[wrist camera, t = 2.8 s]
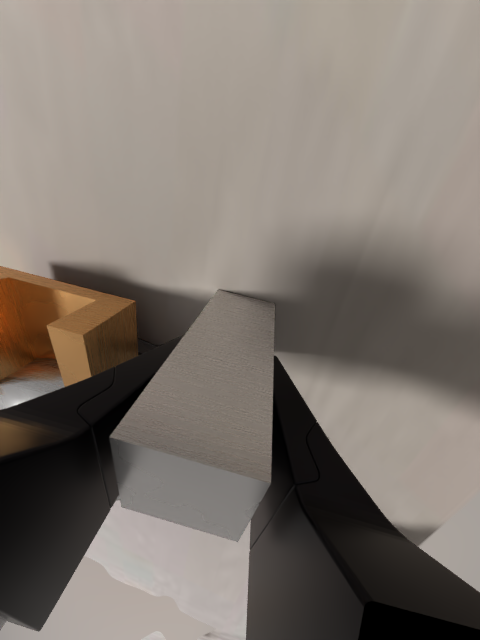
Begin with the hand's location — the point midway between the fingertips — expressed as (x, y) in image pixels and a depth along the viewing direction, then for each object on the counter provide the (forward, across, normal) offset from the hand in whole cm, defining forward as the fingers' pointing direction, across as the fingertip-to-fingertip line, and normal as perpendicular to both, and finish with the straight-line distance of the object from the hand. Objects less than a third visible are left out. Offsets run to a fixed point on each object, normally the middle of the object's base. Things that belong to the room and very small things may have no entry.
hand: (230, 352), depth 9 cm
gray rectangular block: (+3, 0, 0) cm, 3 cm away
